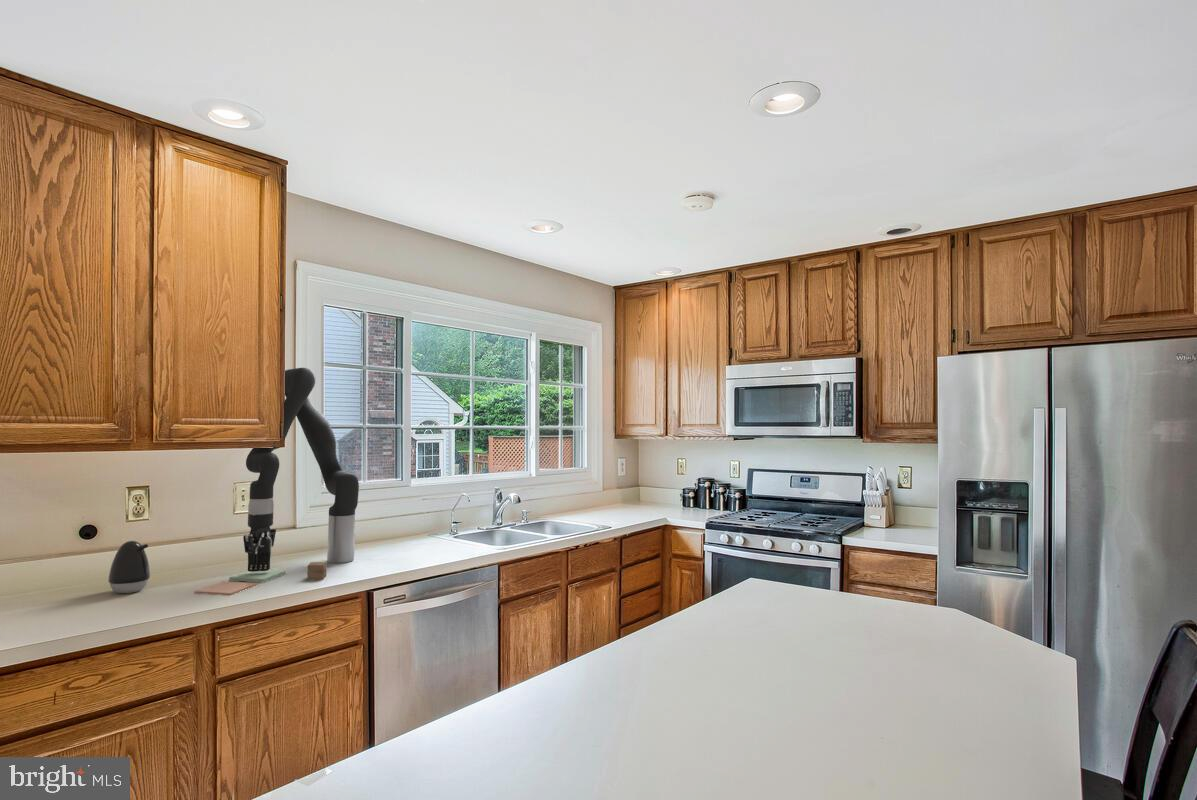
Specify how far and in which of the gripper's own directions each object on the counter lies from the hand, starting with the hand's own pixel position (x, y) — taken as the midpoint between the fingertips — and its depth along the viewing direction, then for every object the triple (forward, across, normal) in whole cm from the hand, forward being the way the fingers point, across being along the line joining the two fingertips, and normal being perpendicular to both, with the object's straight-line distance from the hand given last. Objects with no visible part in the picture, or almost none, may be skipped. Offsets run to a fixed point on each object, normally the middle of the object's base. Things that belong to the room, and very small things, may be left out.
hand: (259, 562), depth 213 cm
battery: (+3, 0, 0) cm, 3 cm away
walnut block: (+5, -3, +19) cm, 20 cm away
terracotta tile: (+5, +15, 0) cm, 16 cm away
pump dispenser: (+5, +23, -26) cm, 35 cm away
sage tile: (+5, 0, 0) cm, 5 cm away
